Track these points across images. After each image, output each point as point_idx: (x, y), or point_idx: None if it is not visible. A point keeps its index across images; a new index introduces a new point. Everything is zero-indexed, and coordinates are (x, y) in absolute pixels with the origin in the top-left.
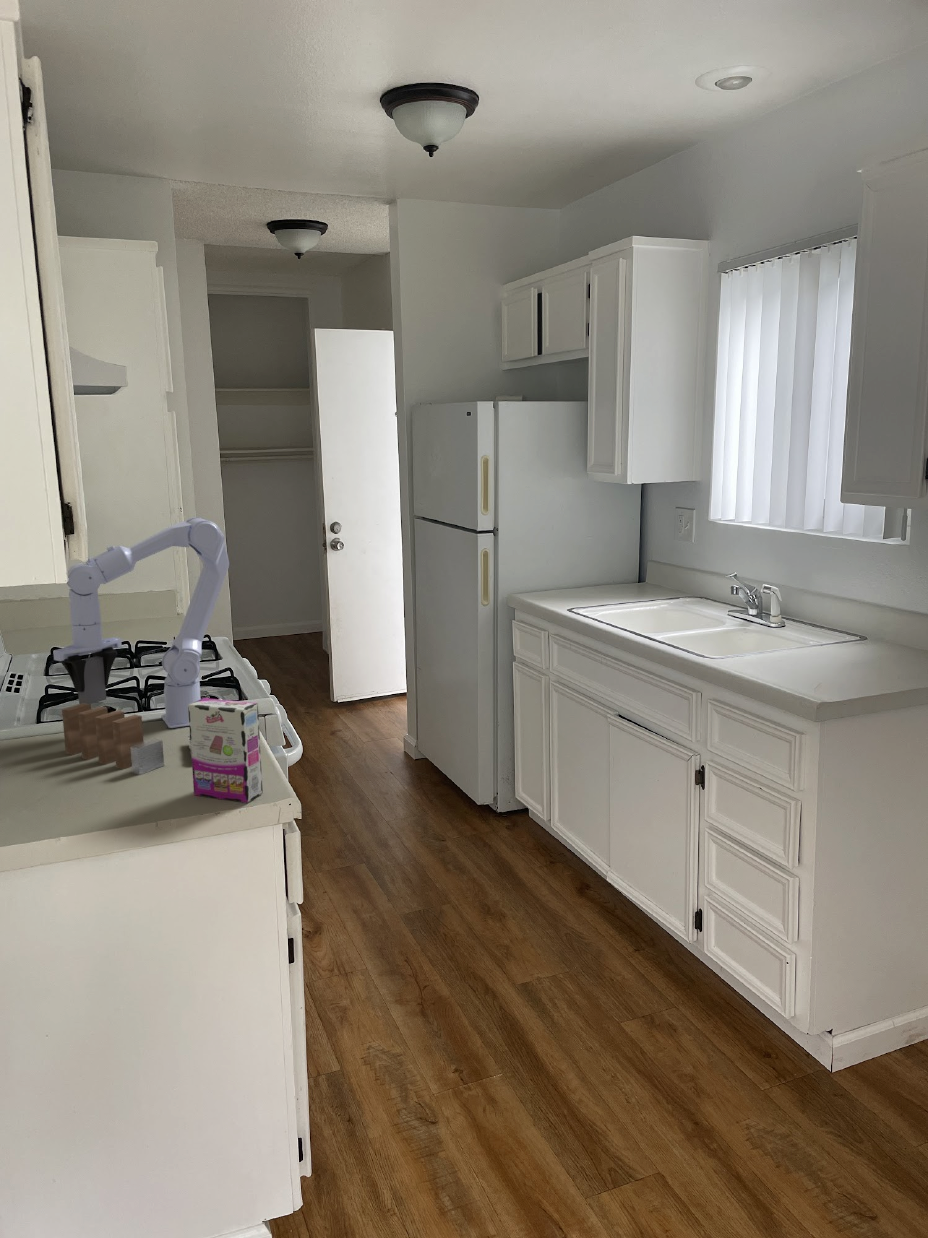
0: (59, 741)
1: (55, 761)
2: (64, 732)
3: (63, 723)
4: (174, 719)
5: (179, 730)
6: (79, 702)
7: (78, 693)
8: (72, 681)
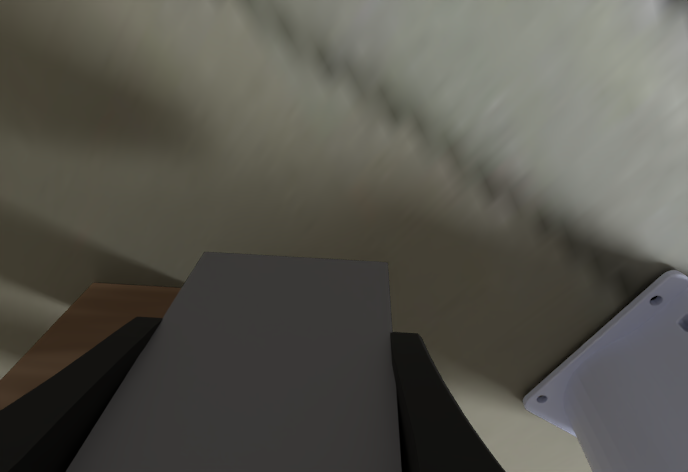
0: (151, 123)
1: (26, 315)
2: (36, 346)
3: (4, 378)
4: (571, 417)
5: (522, 429)
6: (201, 260)
7: (174, 301)
8: (68, 370)
